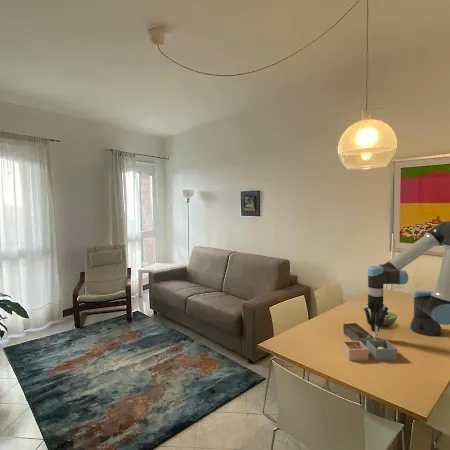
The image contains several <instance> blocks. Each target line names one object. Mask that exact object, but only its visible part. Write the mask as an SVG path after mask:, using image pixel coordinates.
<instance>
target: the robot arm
mask: <svg viewBox="0 0 450 450" xmlns="http://www.w3.org/2000/svg"><path fill="white" fill-rule="evenodd" d="M441 245H442V247H443V248H444V253H443V256H442V260H441V265H440V269H439V274H438V276H437V281H436V286H435V289H434V291H433V290H416V291H414V294H413V317H412V320H411V322H410V326H409V328H410V330H411V331H413V332H414V333H417V334H420V335H424V336H431V337H434V336H435V337H436V336H441V335H442V326H443V325H444V326H448V325H450V220H447V221H446V220H445V221H443V222H440V223H438V224H437V225H434V226H433V227H432V228H431V229H429V230H427V231H425V233H424V235H423V236H422V237H421V238H419V239H418V240H416V241H415V242H414V243H412V244H411V245H410V246H408V247H407V248H405V249H404V250H402V251H401V252H399V253H398V254H397V255H395V256H394V257H392V258H391V259H389V260H388V261H387V262H386V263H384V264H383V263H380V264H378V265H370V266H368V269H367V304H366V306H363V307H362V309H363V310H364V313H365V317H366V321H367V324H368V325H369V326H370V330H371V332H372V336H373V337H374V339H378V338H379V332H380V327H381V325H384V322H385V318H386V314H387V312H388V310H389V307H387V306H385V305H384V285H406V284H407V283H408V281H409V274H408V272H407V271H406V270H404V268H405V267H407V266H408V265H410V264H411V263H413V262H414V261H415V260H417V259H418V258H420V257H421V256H423V255H424V254H425V253H427V252H428V251H430V250H431V249H433V248H434V247H439V246H441ZM402 269H403V270H402ZM369 310H370V312H369ZM441 325H442V326H441Z"/></svg>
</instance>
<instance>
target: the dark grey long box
mask: <svg viewBox="0 0 450 450" xmlns="http://www.w3.org/2000/svg"><path fill="white" fill-rule="evenodd" d="M342 327H343V329H342V331H343V334H344V335H345V336H346V337H348V338H349V339H350V341H361V342H362V343H363V344H364V345H365V346H366V340H375V337H373V335H371V334H370V333H369V332H368V331H367V330H366V329H364V328H363V327H362V326H361V325H359V324H358V323H357V322H353V323H343V326H342Z"/></svg>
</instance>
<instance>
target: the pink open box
mask: <svg viewBox="0 0 450 450" xmlns="http://www.w3.org/2000/svg"><path fill="white" fill-rule="evenodd" d="M354 344H356V345H357V346H359V347H361V348H362V349H350V348H349V347H348V345H354ZM341 352H342V354H343V355H344V356H345V358H346V359H347V360H348V361H349V362H352V361H354V362H355V361H356V362H358V361H361V362H363V361H369V353H368V348H367V347H366V346H365V345H364V344H363V343H362V342H361V341H352V340H342V341H341Z"/></svg>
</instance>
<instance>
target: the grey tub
mask: <svg viewBox="0 0 450 450" xmlns="http://www.w3.org/2000/svg"><path fill="white" fill-rule="evenodd" d="M366 347H367V348H368V355H370V356H371V357H372V358H373V359H374V360H375V362H377V361H378V362H379V361H382V362H384V361H398V348H397V347H396V346H394V345H393V344H392V343H391V342H390V341H389V340H387V339H374V340H366ZM378 347H383V348H384V349H377V348H378Z"/></svg>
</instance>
